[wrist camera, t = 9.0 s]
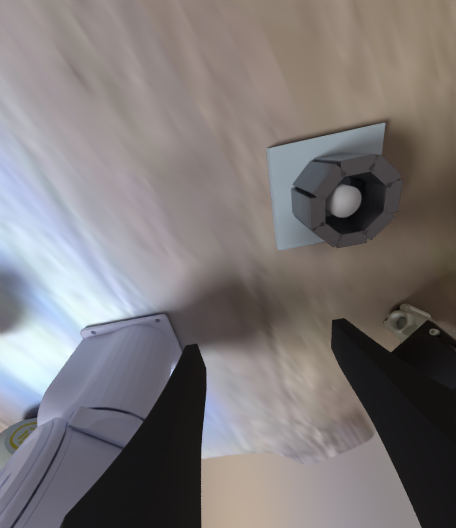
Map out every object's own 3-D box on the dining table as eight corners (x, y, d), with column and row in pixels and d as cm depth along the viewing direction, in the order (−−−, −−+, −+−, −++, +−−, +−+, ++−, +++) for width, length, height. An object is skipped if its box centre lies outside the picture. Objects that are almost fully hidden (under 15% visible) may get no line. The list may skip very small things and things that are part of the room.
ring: (293, 233, 18) (311, 253, 15) (289, 163, 16) (309, 167, 12) (358, 220, 18) (393, 237, 14) (364, 147, 16) (408, 146, 12)
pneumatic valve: (378, 283, 22) (526, 405, 12) (456, 318, 25) (634, 444, 14) (344, 321, 24) (440, 453, 14) (418, 350, 27) (548, 479, 16)
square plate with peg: (276, 246, 20) (288, 266, 16) (266, 148, 16) (279, 147, 13) (365, 228, 19) (398, 246, 16) (376, 124, 16) (421, 116, 12)
